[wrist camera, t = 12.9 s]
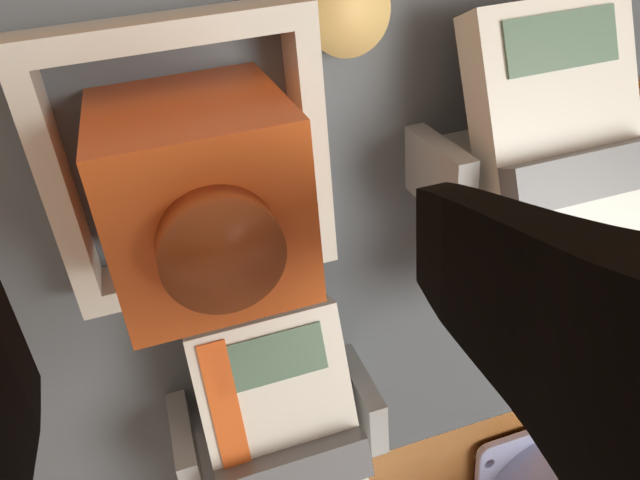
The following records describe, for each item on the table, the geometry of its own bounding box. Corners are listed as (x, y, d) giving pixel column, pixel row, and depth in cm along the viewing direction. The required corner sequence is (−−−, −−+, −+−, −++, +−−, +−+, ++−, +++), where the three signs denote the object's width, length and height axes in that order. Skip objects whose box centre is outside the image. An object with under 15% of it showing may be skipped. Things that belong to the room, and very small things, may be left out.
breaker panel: (566, 373, 27) (635, 443, 24) (23, 544, 22) (8, 665, 18) (647, -116, 18) (785, -122, 14) (-281, -17, 12) (-431, 14, 9)
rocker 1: (372, 548, 20) (395, 590, 18) (244, 594, 19) (253, 643, 17) (325, 293, 18) (344, 309, 17) (181, 329, 17) (183, 351, 16)
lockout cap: (273, 207, 18) (338, 322, 13) (125, 239, 17) (136, 376, 12) (253, 61, 15) (322, 132, 11) (83, 88, 15) (74, 180, 10)
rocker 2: (626, 306, 18) (681, 324, 16) (497, 343, 17) (539, 367, 15) (597, -4, 17) (655, -25, 15) (453, 18, 16) (494, -1, 14)
